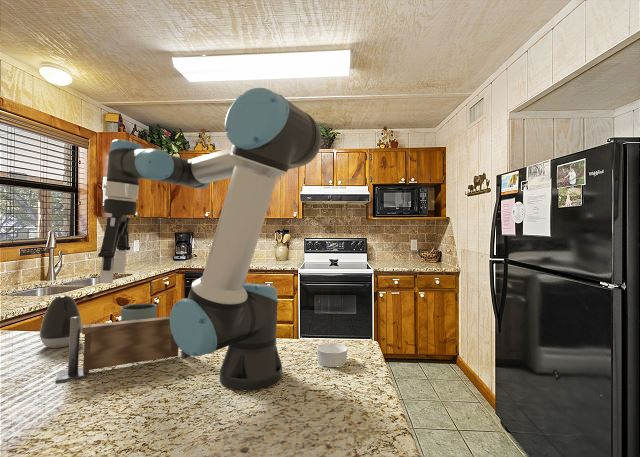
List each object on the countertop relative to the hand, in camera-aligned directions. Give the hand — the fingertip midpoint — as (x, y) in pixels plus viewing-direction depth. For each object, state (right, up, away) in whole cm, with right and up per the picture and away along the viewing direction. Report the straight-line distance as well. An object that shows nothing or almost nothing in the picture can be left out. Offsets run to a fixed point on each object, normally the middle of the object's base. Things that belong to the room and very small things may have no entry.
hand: (112, 277), depth 88 cm
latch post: (+18, -23, +5) cm, 30 cm away
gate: (+6, -22, -2) cm, 23 cm away
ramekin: (+59, -25, +4) cm, 64 cm away
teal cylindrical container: (-1, -23, +14) cm, 27 cm away
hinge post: (-4, -22, -9) cm, 24 cm away
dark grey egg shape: (-23, -23, +12) cm, 35 cm away
